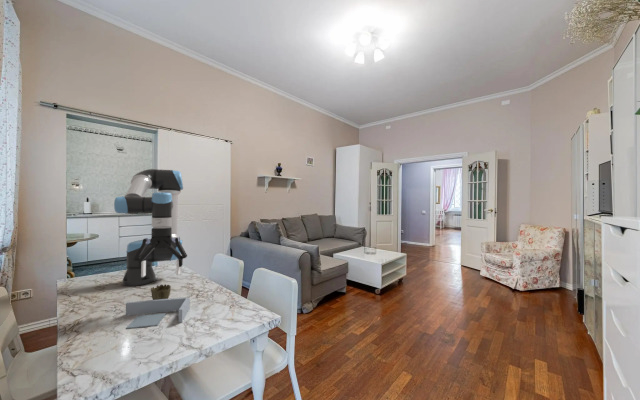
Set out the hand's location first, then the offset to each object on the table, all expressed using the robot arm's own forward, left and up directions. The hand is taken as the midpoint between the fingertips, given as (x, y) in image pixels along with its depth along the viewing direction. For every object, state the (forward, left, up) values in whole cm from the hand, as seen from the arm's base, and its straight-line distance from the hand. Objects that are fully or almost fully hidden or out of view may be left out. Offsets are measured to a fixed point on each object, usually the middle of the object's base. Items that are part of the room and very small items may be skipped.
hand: (161, 275), depth 111 cm
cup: (0, 0, -14) cm, 14 cm away
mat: (+15, 0, -13) cm, 20 cm away
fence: (+13, +1, -13) cm, 19 cm away
